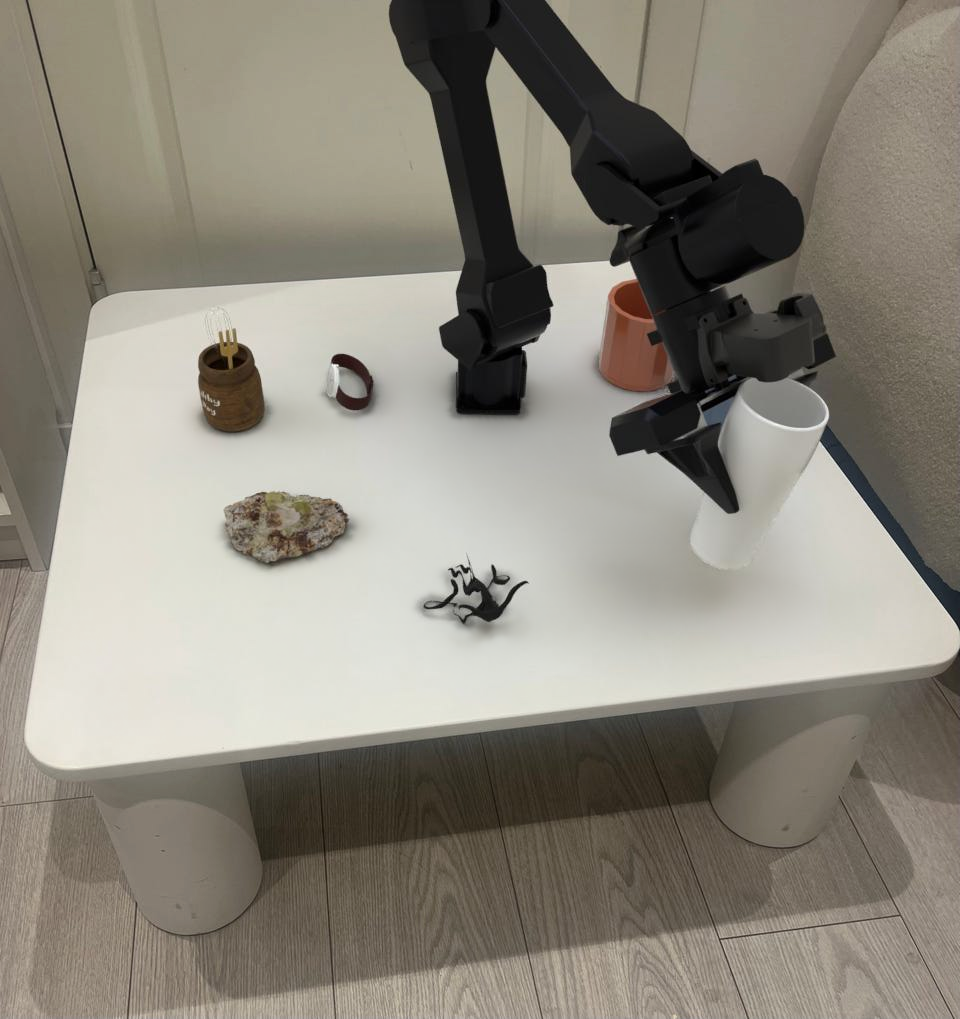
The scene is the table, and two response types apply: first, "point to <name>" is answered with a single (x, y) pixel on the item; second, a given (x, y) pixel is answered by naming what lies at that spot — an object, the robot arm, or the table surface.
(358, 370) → the watch
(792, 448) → the drinking glass
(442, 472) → the table surface
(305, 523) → the mineral rock
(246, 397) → the utensil holder
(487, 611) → the creature
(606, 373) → the terracotta cup
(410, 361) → the table surface
